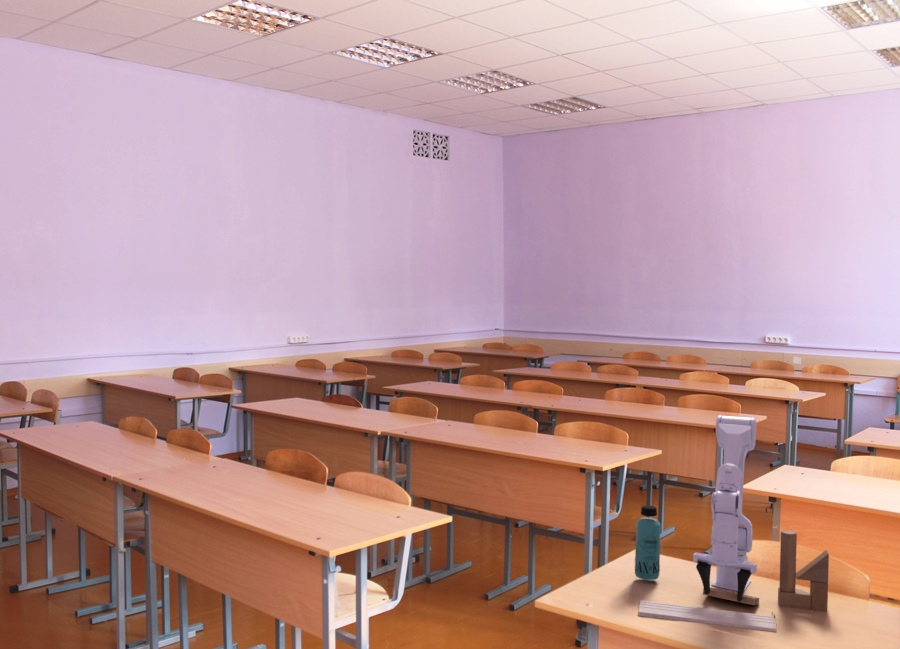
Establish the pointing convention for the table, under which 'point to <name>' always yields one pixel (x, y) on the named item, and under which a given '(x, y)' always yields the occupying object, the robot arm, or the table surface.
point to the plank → (732, 596)
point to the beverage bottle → (647, 545)
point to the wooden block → (802, 577)
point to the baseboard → (707, 615)
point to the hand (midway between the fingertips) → (723, 596)
